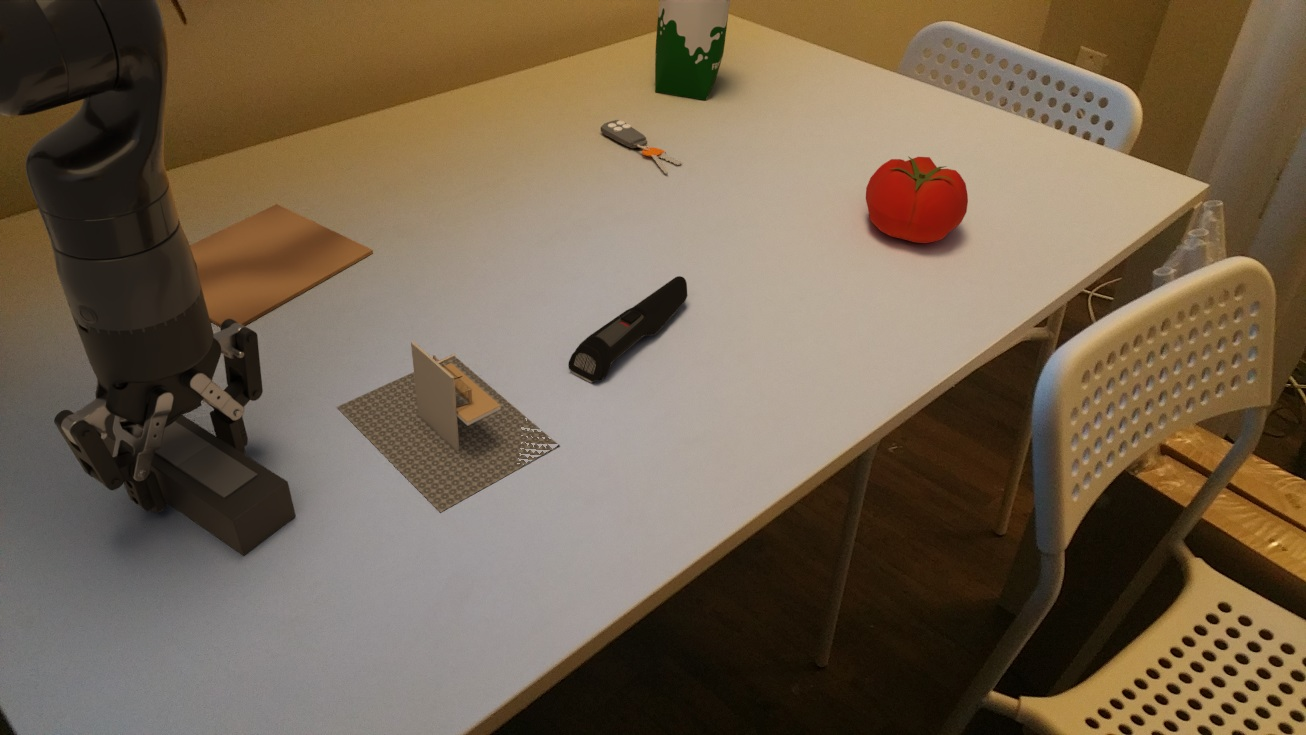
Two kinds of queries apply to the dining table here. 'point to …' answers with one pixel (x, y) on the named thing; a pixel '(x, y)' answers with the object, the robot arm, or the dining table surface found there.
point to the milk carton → (689, 46)
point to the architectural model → (445, 429)
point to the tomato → (916, 199)
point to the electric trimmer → (627, 331)
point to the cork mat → (268, 263)
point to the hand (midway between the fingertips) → (194, 478)
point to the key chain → (635, 141)
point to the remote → (217, 485)
